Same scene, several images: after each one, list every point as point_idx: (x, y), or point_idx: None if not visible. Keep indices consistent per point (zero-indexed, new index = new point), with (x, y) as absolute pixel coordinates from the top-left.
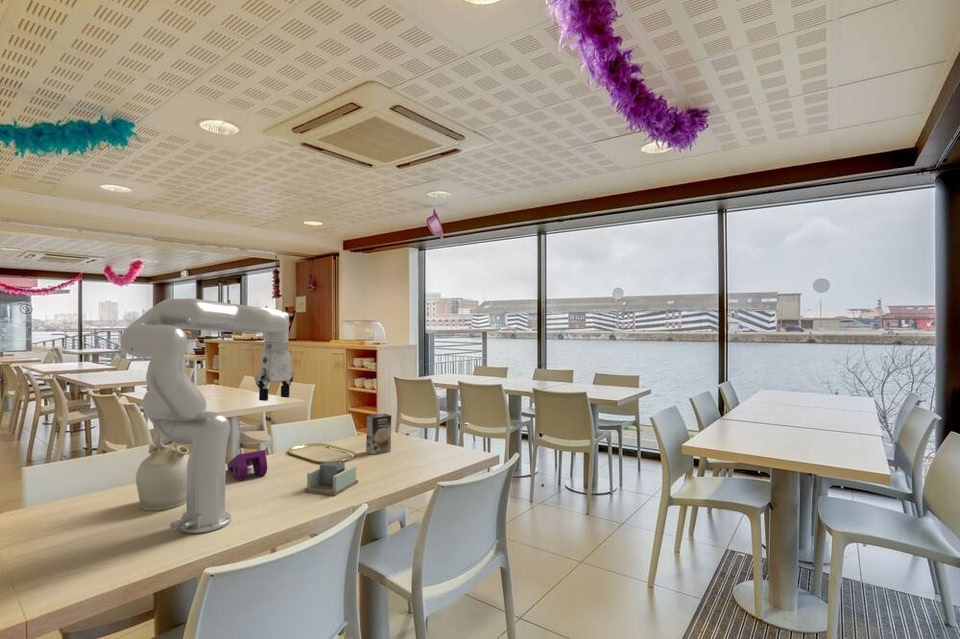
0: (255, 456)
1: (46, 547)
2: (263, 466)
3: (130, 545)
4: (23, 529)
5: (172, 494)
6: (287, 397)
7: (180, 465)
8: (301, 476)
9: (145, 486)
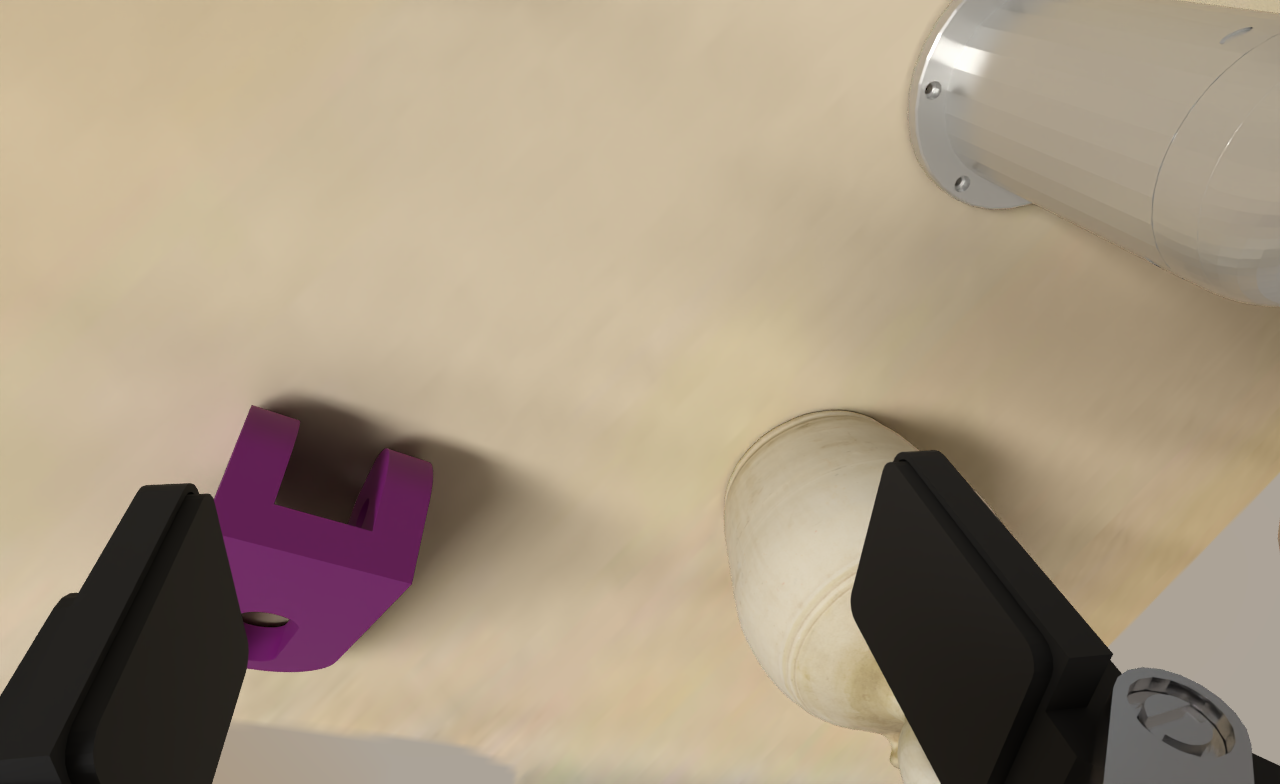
0: (300, 516)
1: (1217, 455)
2: (274, 430)
3: None
4: None
5: (902, 441)
6: (196, 492)
7: None
8: (99, 155)
9: None
